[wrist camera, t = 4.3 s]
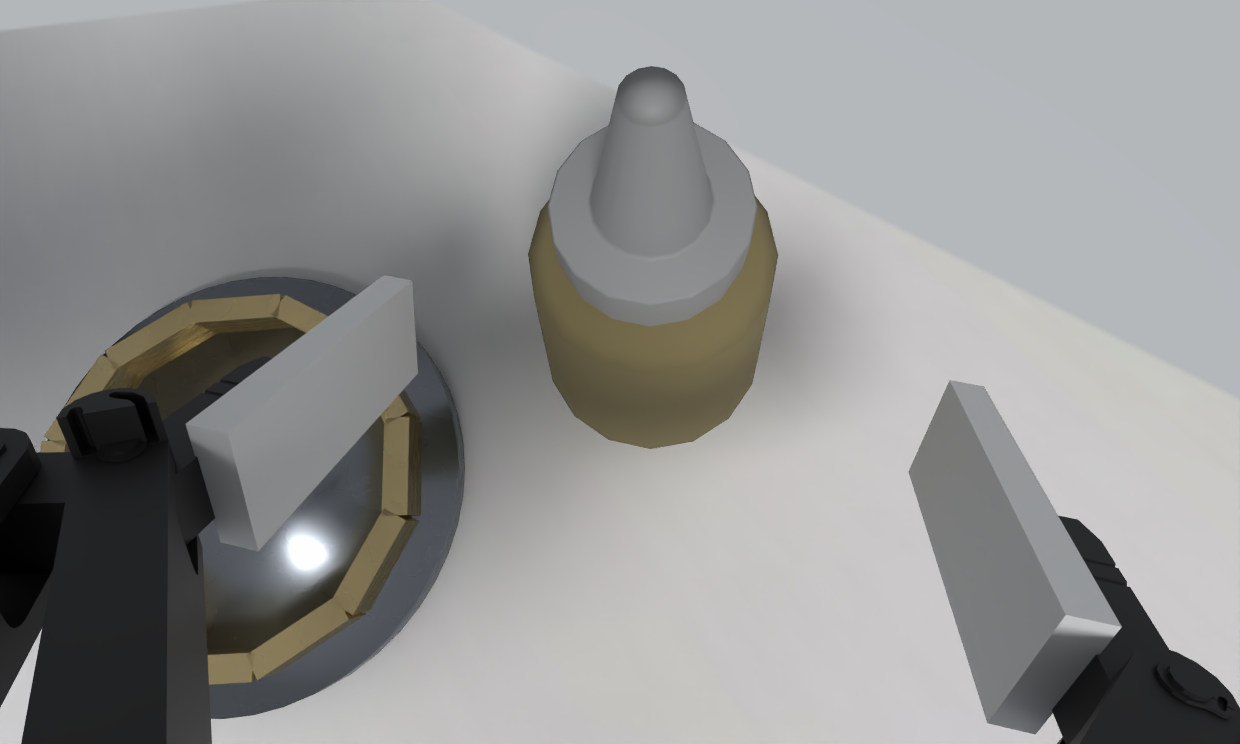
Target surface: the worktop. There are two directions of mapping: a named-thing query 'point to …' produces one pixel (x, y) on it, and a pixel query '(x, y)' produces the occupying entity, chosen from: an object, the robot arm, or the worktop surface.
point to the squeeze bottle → (652, 271)
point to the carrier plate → (324, 522)
